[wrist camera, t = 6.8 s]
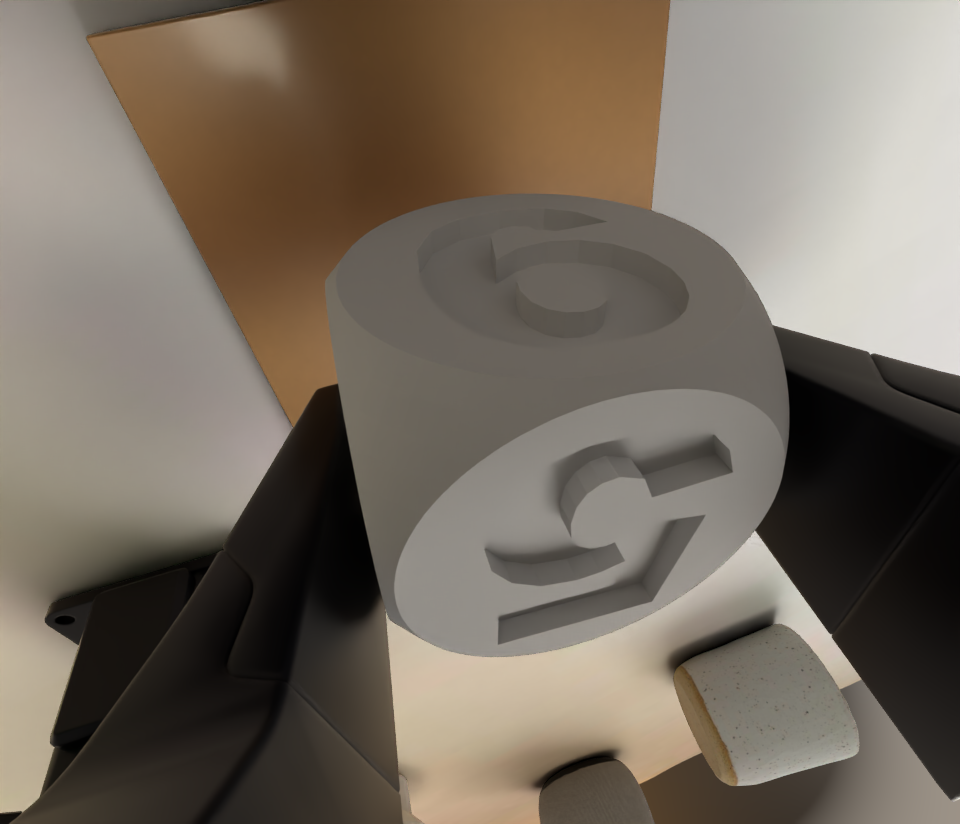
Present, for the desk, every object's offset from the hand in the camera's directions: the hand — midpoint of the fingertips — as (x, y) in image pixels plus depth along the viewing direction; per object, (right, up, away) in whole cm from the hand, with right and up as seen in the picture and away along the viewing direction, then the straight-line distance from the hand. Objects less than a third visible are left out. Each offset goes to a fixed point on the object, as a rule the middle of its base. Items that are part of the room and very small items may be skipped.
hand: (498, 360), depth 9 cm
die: (0, +1, +1) cm, 1 cm away
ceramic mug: (+17, -18, +28) cm, 37 cm away
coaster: (-1, +3, +3) cm, 4 cm away
